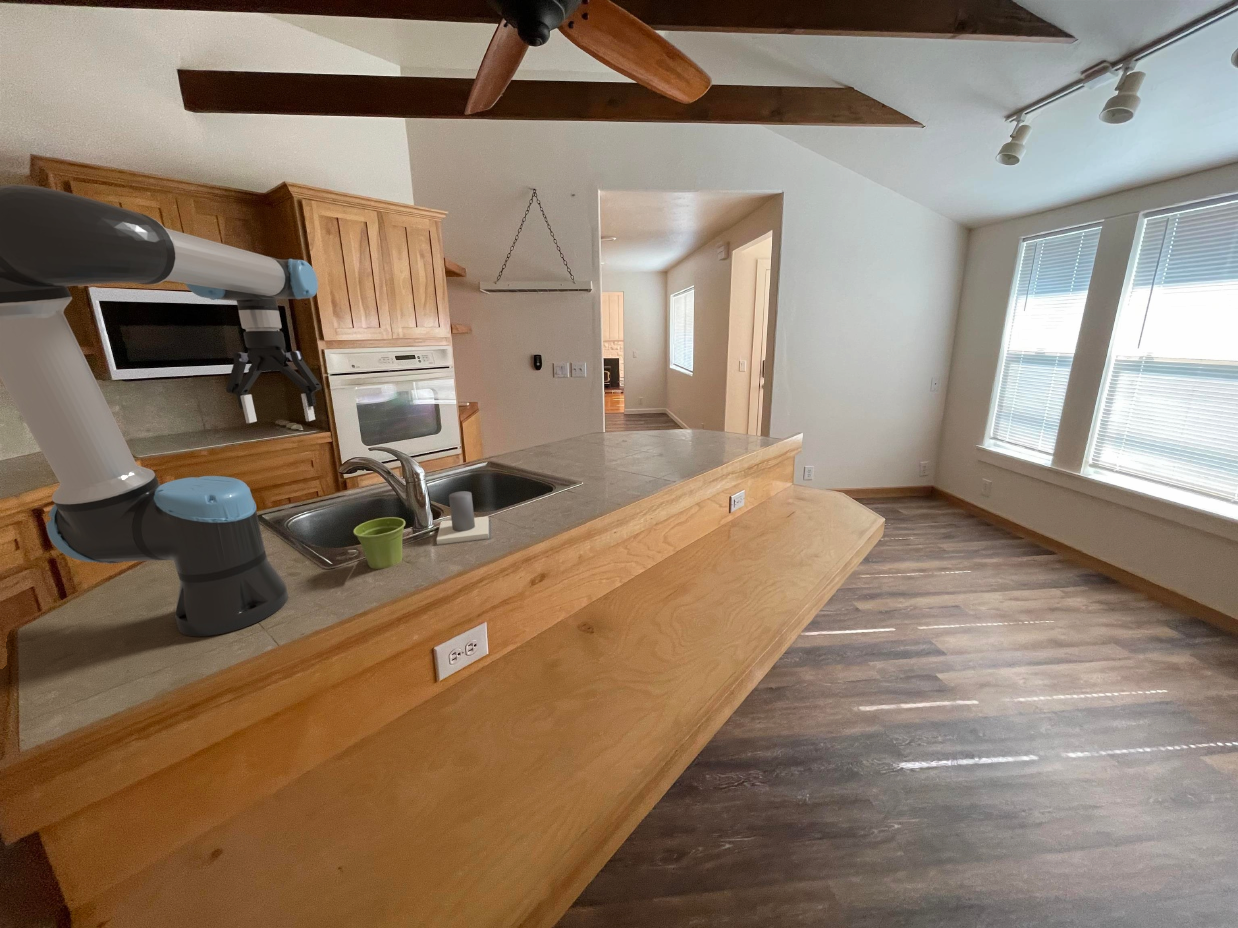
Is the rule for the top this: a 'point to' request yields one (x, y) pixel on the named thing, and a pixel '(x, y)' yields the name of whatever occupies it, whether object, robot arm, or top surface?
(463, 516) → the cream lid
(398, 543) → the plant pot
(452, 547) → the top surface
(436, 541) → the charcoal mat
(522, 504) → the top surface
